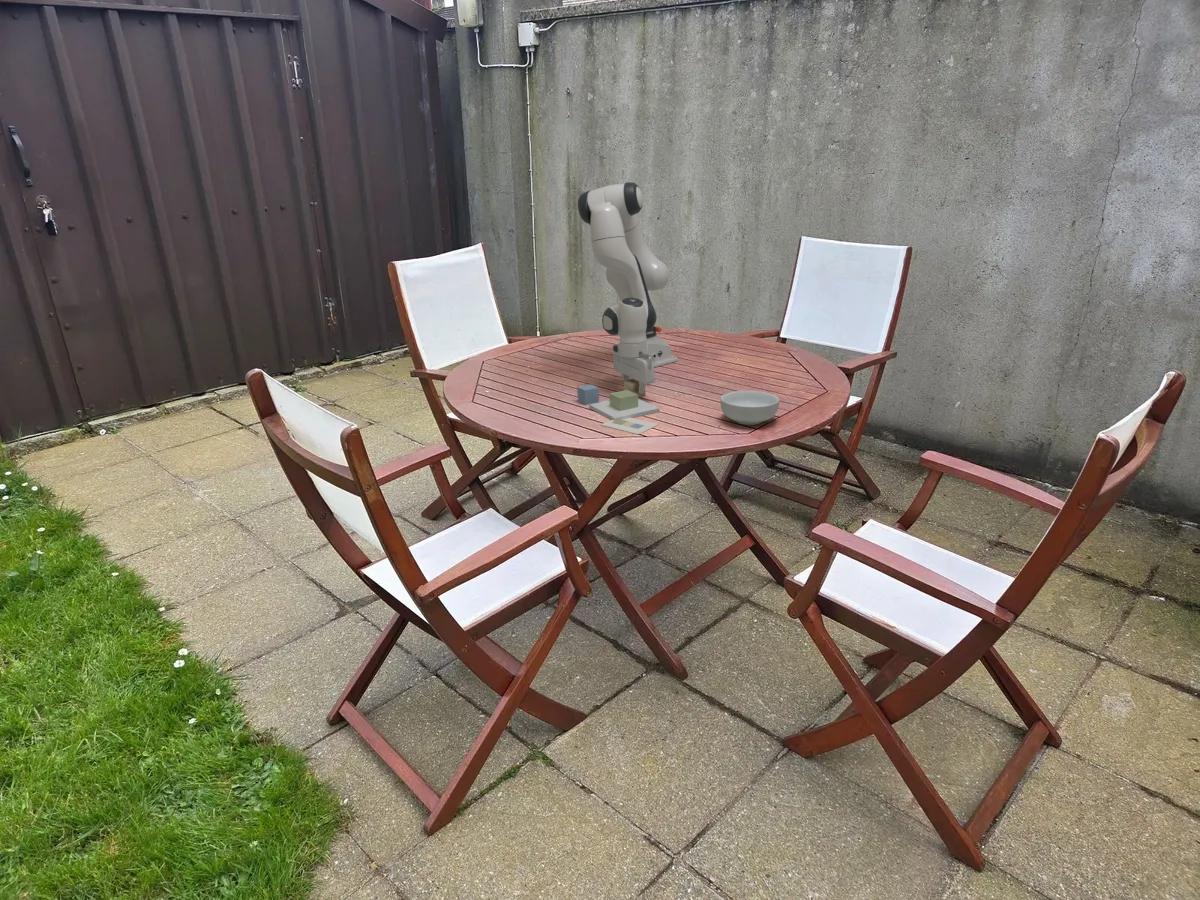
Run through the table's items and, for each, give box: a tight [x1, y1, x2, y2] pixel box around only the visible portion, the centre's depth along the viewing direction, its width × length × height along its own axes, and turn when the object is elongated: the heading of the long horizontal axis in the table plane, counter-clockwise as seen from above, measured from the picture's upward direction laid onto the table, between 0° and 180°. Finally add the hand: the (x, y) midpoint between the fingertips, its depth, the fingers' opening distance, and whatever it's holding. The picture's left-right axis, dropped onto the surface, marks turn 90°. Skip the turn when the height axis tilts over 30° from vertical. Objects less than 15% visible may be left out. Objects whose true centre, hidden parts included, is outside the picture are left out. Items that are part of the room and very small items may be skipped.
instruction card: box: [600, 417, 659, 435], centre depth 220 cm, size 10×14×1 cm
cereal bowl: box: [720, 390, 780, 426], centre depth 219 cm, size 17×17×7 cm
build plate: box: [588, 390, 660, 421], centre depth 233 cm, size 16×16×5 cm
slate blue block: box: [577, 383, 600, 406], centre depth 242 cm, size 5×5×5 cm
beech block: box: [623, 378, 646, 398], centre depth 247 cm, size 5×5×5 cm
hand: (634, 390), depth 247 cm, fingers open, 7 cm apart
